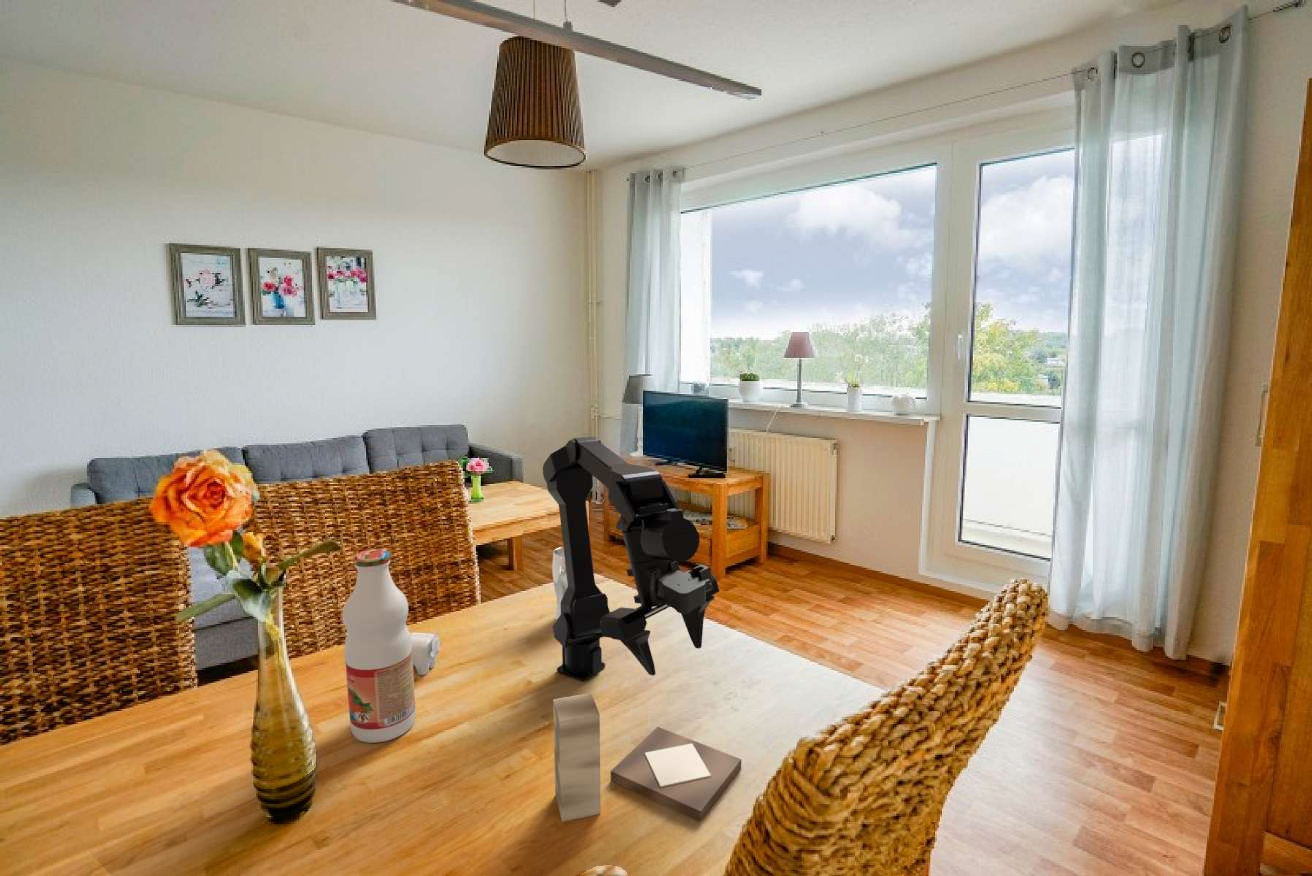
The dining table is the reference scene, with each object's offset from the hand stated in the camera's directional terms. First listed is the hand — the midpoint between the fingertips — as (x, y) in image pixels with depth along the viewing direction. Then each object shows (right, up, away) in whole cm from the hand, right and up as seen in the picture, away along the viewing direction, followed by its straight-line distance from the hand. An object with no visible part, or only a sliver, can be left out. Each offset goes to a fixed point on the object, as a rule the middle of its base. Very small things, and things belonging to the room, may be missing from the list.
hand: (676, 661), depth 96 cm
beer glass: (-21, -6, +45) cm, 50 cm away
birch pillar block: (-13, -16, -9) cm, 22 cm away
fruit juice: (-45, -13, +7) cm, 47 cm away
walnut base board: (0, -15, -4) cm, 15 cm away
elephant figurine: (-46, -10, +25) cm, 53 cm away
